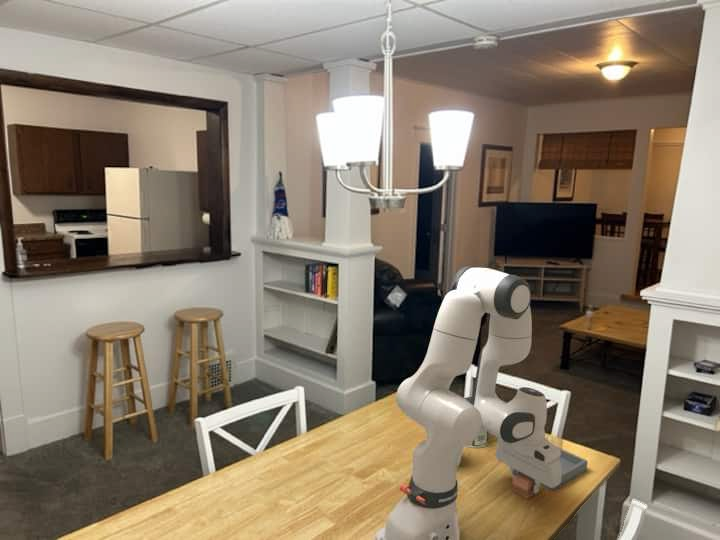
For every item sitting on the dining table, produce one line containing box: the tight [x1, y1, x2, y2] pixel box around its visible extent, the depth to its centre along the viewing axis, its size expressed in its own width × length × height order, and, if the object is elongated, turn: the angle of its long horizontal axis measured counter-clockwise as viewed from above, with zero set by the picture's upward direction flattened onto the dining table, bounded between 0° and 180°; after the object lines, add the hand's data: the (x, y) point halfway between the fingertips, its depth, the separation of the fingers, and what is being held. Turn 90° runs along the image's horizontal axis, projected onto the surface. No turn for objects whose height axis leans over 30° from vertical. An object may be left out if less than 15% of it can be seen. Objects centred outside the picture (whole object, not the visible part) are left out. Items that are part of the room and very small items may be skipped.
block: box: [512, 472, 537, 499], centre depth 151 cm, size 5×5×5 cm
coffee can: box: [464, 396, 490, 449], centre depth 180 cm, size 10×10×14 cm
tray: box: [517, 445, 588, 492], centre depth 162 cm, size 18×14×4 cm
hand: (525, 486), depth 151 cm, fingers closed on block, 5 cm apart
